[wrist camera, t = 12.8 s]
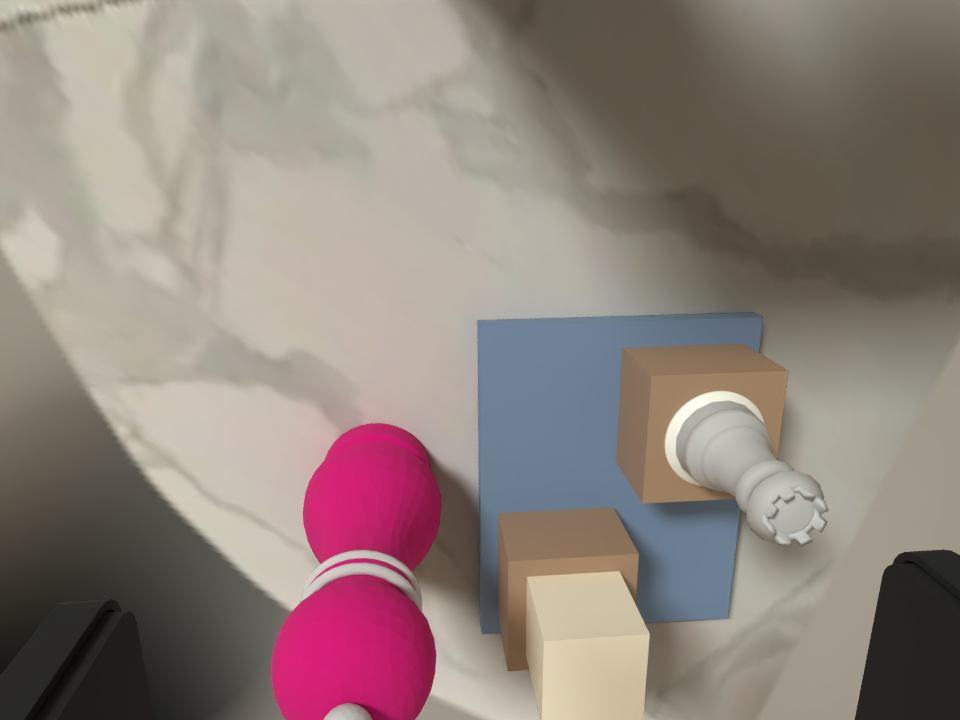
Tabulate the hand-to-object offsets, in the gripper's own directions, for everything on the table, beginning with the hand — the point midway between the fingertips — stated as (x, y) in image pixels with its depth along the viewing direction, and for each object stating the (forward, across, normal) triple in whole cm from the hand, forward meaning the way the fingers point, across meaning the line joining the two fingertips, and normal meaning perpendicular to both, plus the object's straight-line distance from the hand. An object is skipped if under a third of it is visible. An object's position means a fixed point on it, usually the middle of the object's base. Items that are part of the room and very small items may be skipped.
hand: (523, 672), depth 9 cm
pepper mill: (+31, +4, +12) cm, 33 cm away
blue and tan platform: (+30, -10, +13) cm, 34 cm away
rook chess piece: (+24, -13, +8) cm, 29 cm away
